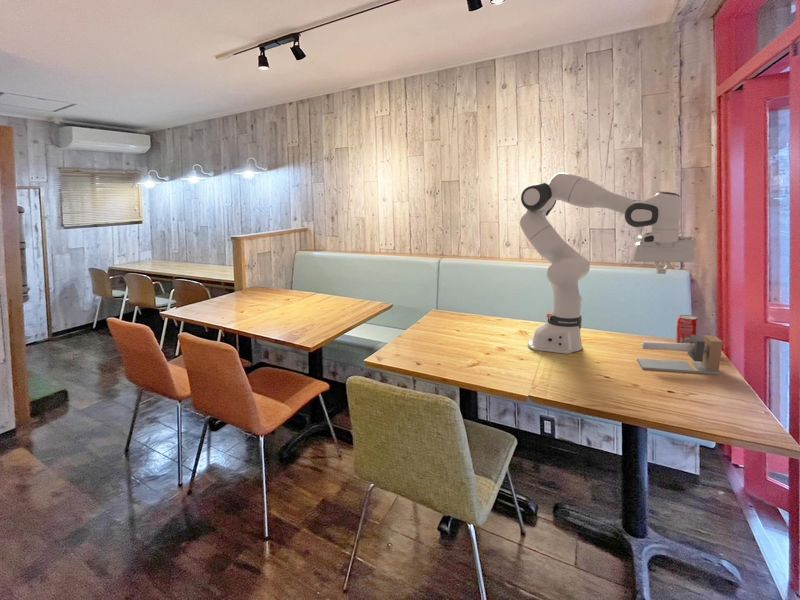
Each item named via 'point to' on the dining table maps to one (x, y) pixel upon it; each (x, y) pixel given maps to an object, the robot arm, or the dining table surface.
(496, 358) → the dining table surface
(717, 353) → the pipe stand
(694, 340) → the grey rectangular frame
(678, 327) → the soda can
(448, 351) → the dining table surface
